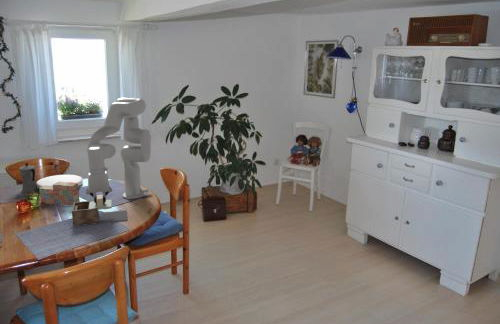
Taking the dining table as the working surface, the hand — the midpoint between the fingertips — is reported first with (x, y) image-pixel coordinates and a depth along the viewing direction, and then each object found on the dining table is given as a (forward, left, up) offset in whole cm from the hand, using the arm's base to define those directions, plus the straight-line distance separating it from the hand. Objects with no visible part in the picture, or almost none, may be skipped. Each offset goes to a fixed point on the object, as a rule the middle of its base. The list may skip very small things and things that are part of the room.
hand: (100, 203), depth 219 cm
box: (+8, 0, -8) cm, 11 cm away
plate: (+27, -63, -9) cm, 69 cm away
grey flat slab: (-6, 0, -8) cm, 11 cm away
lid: (0, 0, -1) cm, 1 cm away
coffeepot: (+44, -59, -9) cm, 74 cm away
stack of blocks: (+24, -31, -9) cm, 40 cm away
